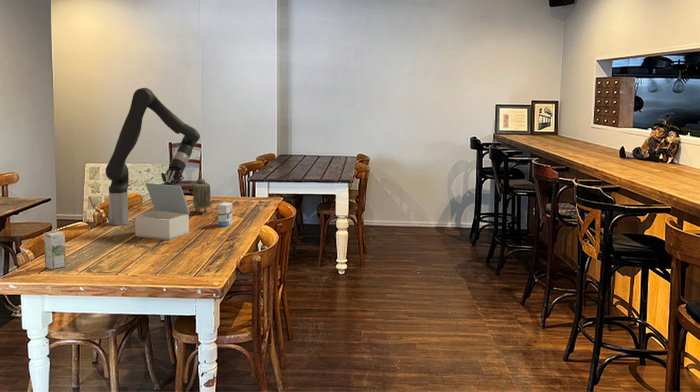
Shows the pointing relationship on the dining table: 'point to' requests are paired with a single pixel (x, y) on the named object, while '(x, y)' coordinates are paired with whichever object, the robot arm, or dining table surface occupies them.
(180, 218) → the storage box
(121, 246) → the dining table surface
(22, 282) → the dining table surface
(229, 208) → the ink box
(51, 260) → the syrup box
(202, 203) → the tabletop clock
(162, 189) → the lid
